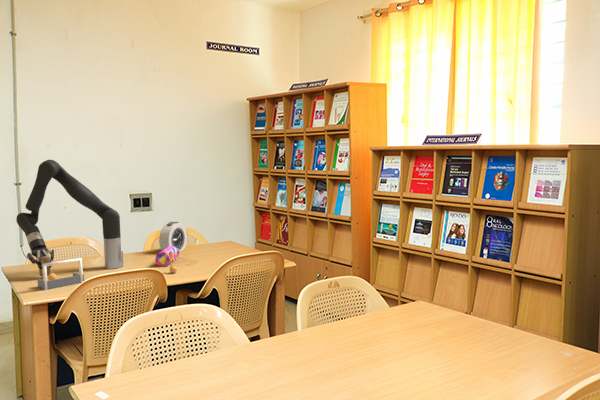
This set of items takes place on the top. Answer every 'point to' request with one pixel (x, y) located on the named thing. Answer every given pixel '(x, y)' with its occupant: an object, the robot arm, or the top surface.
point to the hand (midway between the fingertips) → (46, 267)
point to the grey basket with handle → (62, 281)
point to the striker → (43, 260)
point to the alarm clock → (173, 236)
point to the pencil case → (161, 256)
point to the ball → (52, 276)
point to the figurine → (172, 268)
